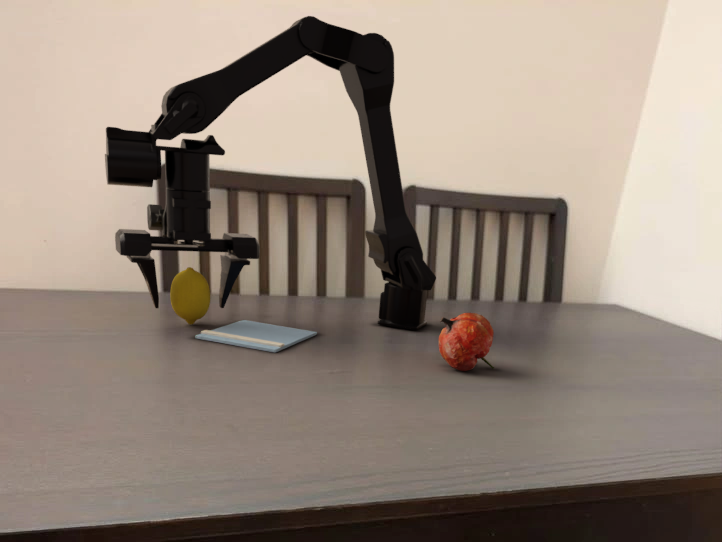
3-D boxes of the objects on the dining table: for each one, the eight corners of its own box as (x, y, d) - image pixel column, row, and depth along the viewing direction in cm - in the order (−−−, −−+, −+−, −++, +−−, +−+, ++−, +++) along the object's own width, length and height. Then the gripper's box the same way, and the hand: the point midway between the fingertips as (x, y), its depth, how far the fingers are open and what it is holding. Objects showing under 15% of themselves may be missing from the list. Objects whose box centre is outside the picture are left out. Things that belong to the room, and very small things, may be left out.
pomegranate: (471, 376, 99) (419, 328, 96) (511, 338, 96) (459, 287, 93) (477, 398, 93) (421, 347, 89) (520, 358, 90) (464, 304, 87)
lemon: (169, 320, 106) (168, 263, 103) (208, 320, 108) (207, 264, 104) (172, 328, 101) (170, 269, 98) (212, 329, 103) (212, 271, 100)
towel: (316, 334, 105) (317, 329, 105) (275, 352, 94) (275, 347, 93) (243, 322, 108) (243, 317, 108) (195, 338, 97) (194, 333, 97)
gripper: (239, 190, 107) (238, 297, 114) (107, 181, 100) (113, 296, 106) (262, 195, 98) (259, 312, 105) (117, 187, 91) (124, 312, 97)
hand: (189, 307), depth 103 cm, fingers open, 9 cm apart
